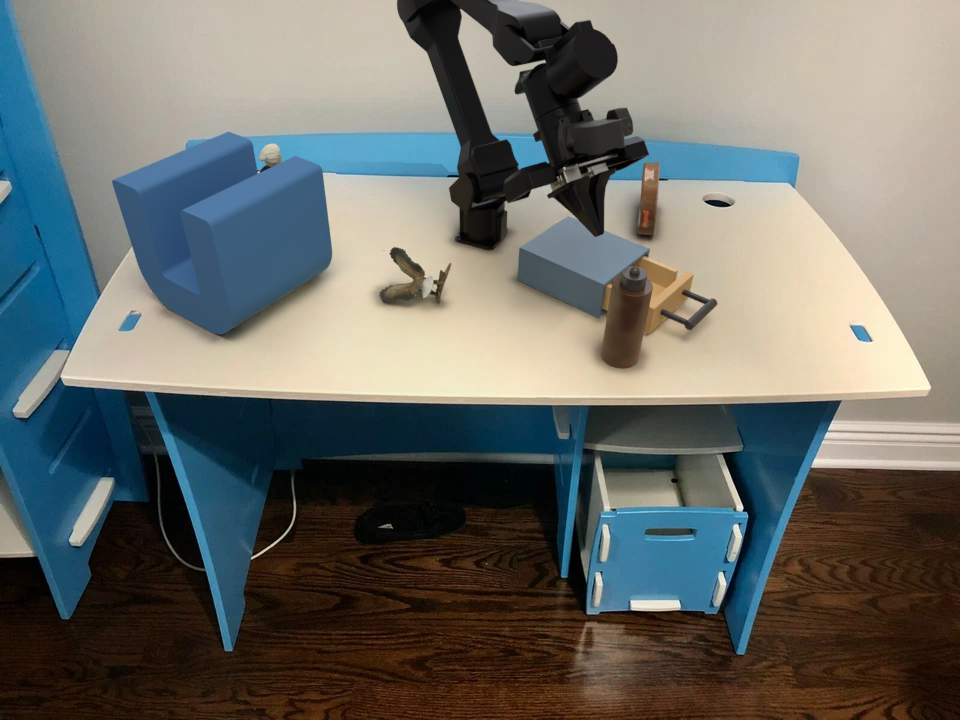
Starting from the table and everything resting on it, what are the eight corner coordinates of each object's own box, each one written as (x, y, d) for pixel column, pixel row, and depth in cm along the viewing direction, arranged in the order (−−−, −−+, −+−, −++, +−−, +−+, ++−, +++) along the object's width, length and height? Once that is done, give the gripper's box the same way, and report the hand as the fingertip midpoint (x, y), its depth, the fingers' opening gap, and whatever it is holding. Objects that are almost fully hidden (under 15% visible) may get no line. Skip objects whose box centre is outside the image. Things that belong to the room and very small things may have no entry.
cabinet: (644, 281, 110) (650, 248, 106) (598, 318, 103) (603, 284, 99) (564, 247, 117) (568, 215, 113) (517, 280, 110) (519, 247, 106)
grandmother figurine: (308, 221, 121) (297, 146, 113) (291, 231, 119) (279, 155, 111) (273, 208, 125) (260, 133, 116) (256, 217, 122) (241, 142, 114)
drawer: (720, 311, 103) (726, 287, 101) (682, 348, 97) (688, 323, 94) (608, 263, 112) (611, 240, 109) (566, 295, 106) (568, 271, 103)
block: (336, 283, 108) (321, 165, 97) (238, 347, 97) (209, 222, 85) (248, 243, 116) (225, 130, 104) (148, 299, 104) (110, 178, 93)
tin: (652, 245, 118) (662, 196, 112) (632, 243, 118) (640, 194, 113) (655, 200, 129) (664, 154, 124) (637, 198, 129) (644, 152, 124)
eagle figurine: (451, 274, 108) (391, 256, 109) (452, 254, 101) (388, 234, 102) (435, 322, 106) (374, 304, 106) (435, 305, 99) (369, 285, 100)
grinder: (596, 362, 96) (609, 272, 87) (607, 340, 99) (621, 252, 91) (633, 372, 94) (650, 282, 86) (642, 350, 98) (660, 262, 89)
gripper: (526, 102, 81) (574, 240, 82) (656, 72, 89) (698, 198, 90) (482, 139, 91) (525, 261, 92) (602, 109, 99) (641, 222, 100)
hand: (599, 235), depth 93 cm, fingers closed
